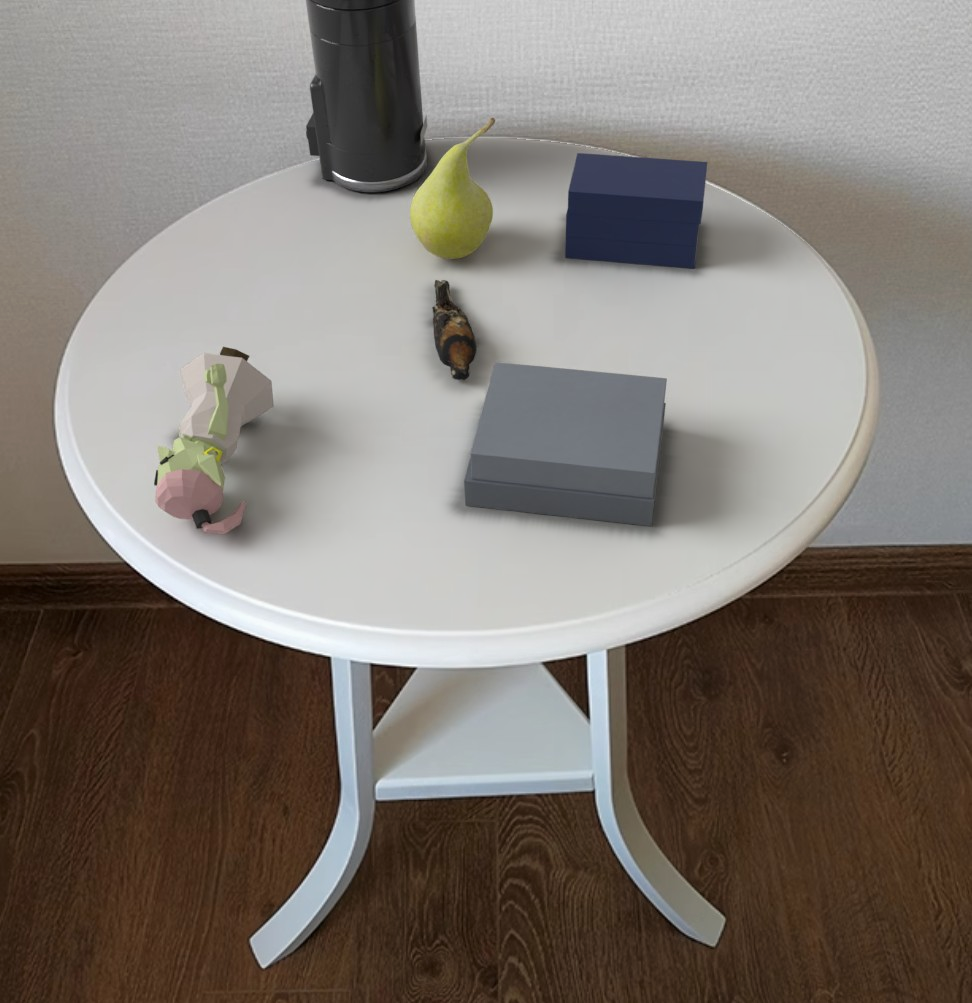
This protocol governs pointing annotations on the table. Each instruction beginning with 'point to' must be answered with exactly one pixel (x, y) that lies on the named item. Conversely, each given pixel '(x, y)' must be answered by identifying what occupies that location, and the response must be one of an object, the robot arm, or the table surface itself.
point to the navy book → (637, 188)
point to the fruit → (452, 206)
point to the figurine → (210, 436)
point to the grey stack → (568, 444)
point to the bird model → (452, 333)
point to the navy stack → (631, 240)
